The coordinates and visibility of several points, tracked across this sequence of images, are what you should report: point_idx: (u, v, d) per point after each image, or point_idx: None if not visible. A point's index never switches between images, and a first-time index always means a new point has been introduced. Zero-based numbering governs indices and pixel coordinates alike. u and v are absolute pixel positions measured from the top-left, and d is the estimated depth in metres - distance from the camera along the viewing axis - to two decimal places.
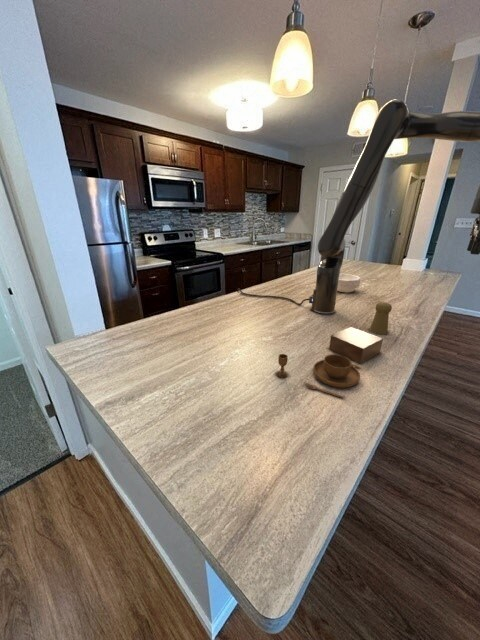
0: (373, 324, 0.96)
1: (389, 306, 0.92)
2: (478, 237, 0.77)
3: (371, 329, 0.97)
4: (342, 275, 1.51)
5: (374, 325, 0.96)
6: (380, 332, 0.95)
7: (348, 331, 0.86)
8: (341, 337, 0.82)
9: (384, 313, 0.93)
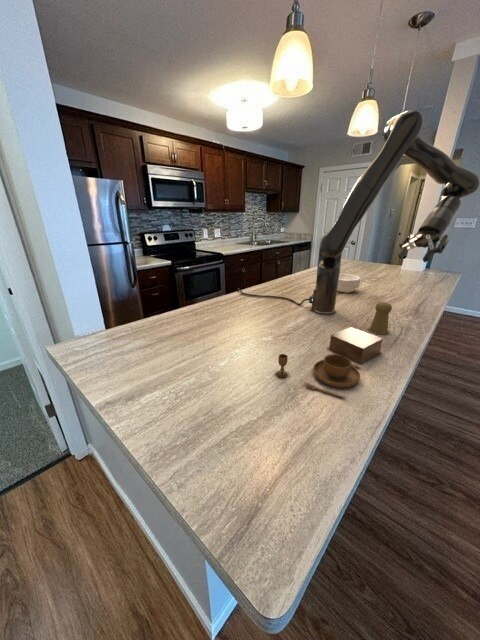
0: (373, 324, 0.96)
1: (389, 306, 0.92)
2: (441, 248, 0.88)
3: (371, 329, 0.97)
4: (342, 275, 1.51)
5: (374, 325, 0.96)
6: (380, 332, 0.95)
7: (348, 331, 0.86)
8: (341, 337, 0.82)
9: (384, 313, 0.93)
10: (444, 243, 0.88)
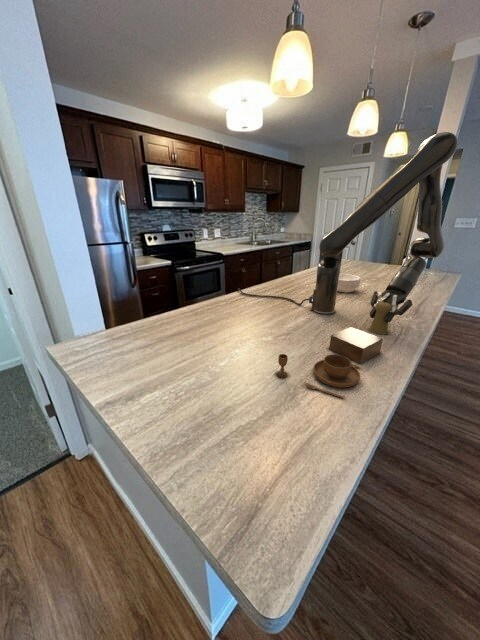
0: (373, 324, 0.96)
1: (389, 306, 0.92)
2: (400, 312, 0.91)
3: (371, 329, 0.97)
4: (342, 275, 1.51)
5: (374, 325, 0.96)
6: (380, 332, 0.95)
7: (348, 331, 0.86)
8: (341, 337, 0.82)
9: (384, 313, 0.93)
10: (405, 307, 0.91)
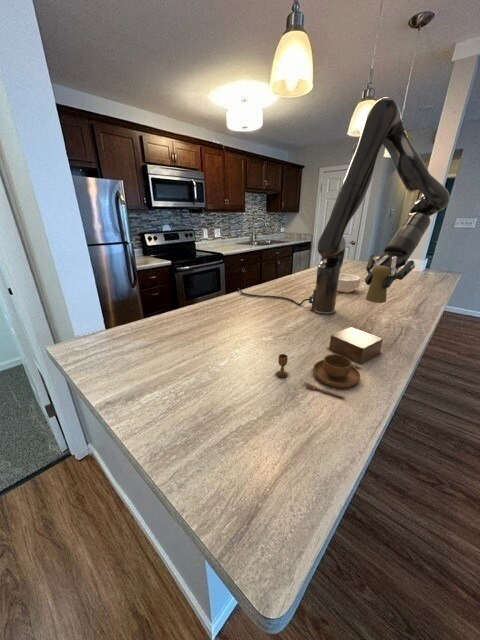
0: (369, 291, 0.84)
1: (388, 269, 0.79)
2: (401, 275, 0.78)
3: (367, 298, 0.84)
4: (342, 275, 1.51)
5: (370, 292, 0.83)
6: (378, 300, 0.82)
7: (348, 331, 0.86)
8: (341, 337, 0.82)
9: (382, 277, 0.80)
10: (407, 270, 0.78)
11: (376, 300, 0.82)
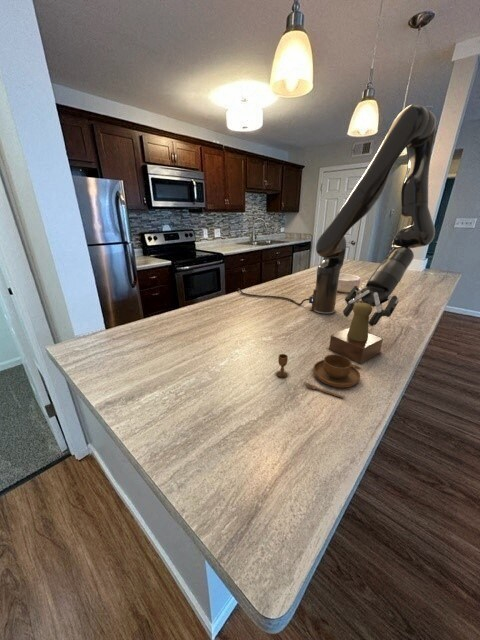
0: (351, 329, 0.81)
1: (369, 307, 0.76)
2: (389, 312, 0.74)
3: (348, 335, 0.82)
4: (342, 275, 1.51)
5: (351, 330, 0.80)
6: (359, 339, 0.79)
7: None
8: (341, 337, 0.82)
9: (363, 316, 0.77)
10: (393, 306, 0.74)
11: (357, 338, 0.79)
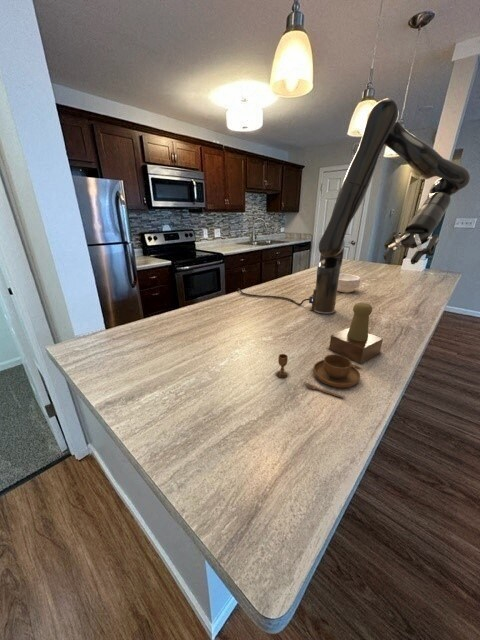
0: (351, 329, 0.81)
1: (369, 307, 0.76)
2: (430, 249, 0.79)
3: (348, 335, 0.82)
4: (342, 275, 1.51)
5: (352, 330, 0.80)
6: (359, 339, 0.79)
7: None
8: (341, 337, 0.82)
9: (363, 316, 0.77)
10: (434, 244, 0.79)
11: (357, 338, 0.79)
